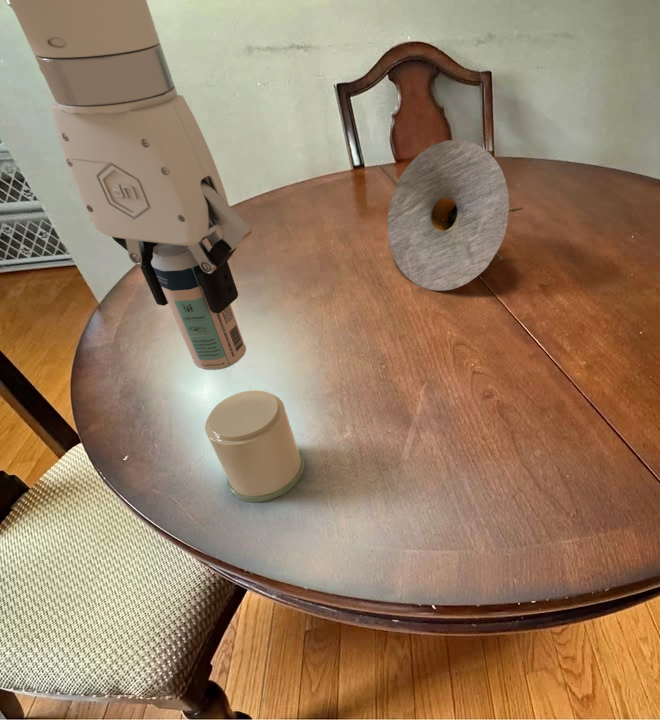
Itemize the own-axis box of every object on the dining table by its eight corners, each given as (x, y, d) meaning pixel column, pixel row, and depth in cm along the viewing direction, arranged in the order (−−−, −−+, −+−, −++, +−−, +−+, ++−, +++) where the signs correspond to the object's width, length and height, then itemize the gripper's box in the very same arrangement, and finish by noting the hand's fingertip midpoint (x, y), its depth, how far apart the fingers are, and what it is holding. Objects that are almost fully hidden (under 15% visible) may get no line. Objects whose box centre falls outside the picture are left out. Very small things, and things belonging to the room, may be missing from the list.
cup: (231, 512, 60) (202, 452, 54) (226, 458, 66) (199, 398, 60) (310, 487, 62) (290, 426, 56) (298, 437, 68) (279, 378, 62)
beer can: (236, 337, 57) (197, 228, 49) (255, 359, 54) (216, 246, 46) (188, 357, 54) (139, 245, 47) (205, 380, 51) (156, 265, 44)
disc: (523, 323, 99) (569, 191, 98) (467, 297, 84) (521, 142, 84) (423, 293, 113) (463, 178, 113) (361, 267, 99) (406, 134, 98)
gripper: (-35, 86, 37) (88, 312, 49) (180, 97, 34) (259, 338, 45) (57, 63, 43) (148, 270, 54) (249, 71, 40) (304, 291, 51)
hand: (198, 299), depth 50 cm, fingers closed on beer can, 4 cm apart
